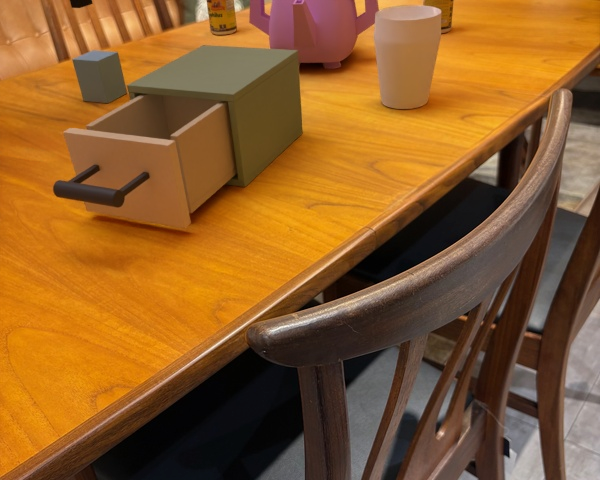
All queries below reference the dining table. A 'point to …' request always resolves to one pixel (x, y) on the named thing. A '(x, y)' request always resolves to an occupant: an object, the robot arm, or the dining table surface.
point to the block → (100, 76)
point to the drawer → (151, 159)
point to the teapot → (314, 27)
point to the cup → (406, 53)
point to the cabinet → (239, 97)
